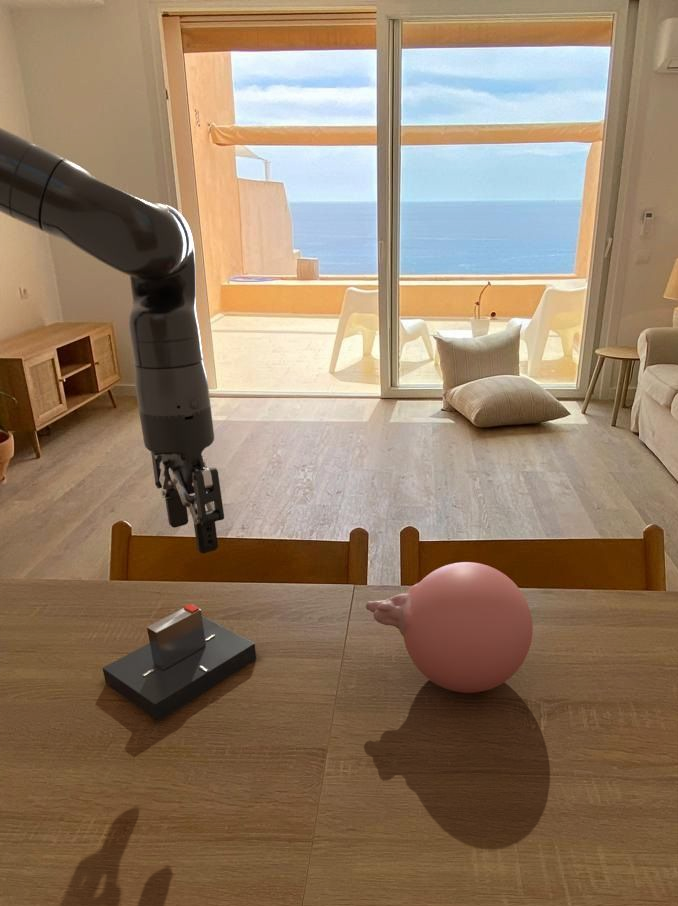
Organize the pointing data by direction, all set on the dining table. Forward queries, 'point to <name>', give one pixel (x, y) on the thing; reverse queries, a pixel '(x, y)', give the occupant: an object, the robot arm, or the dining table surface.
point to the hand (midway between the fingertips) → (193, 537)
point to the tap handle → (176, 636)
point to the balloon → (462, 626)
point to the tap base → (179, 672)
